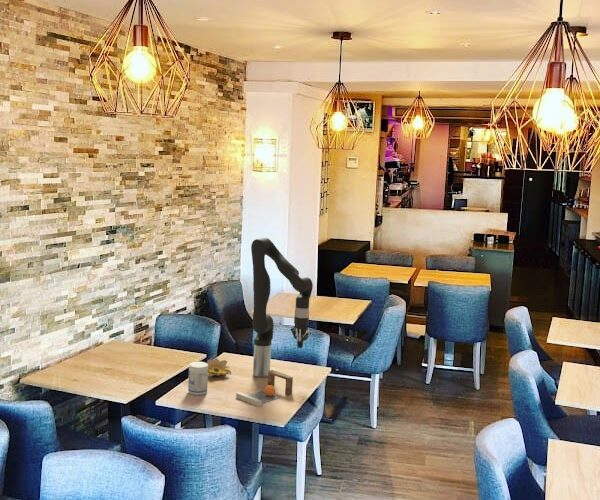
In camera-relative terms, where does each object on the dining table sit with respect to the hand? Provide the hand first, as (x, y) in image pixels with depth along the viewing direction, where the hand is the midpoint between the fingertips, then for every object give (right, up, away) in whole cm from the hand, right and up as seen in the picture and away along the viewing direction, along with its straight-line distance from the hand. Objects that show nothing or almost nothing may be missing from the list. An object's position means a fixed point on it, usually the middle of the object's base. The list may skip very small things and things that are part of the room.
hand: (299, 347), depth 365 cm
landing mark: (-19, -22, -19) cm, 35 cm away
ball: (-15, -19, -17) cm, 30 cm away
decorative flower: (-45, -17, +9) cm, 49 cm away
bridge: (-10, -21, -10) cm, 25 cm away
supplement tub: (-51, -20, -17) cm, 58 cm away
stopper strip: (-25, -23, -26) cm, 43 cm away
